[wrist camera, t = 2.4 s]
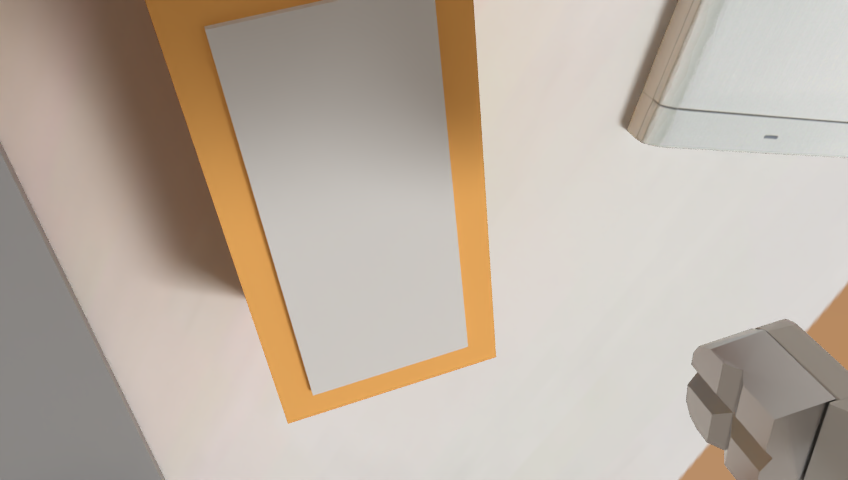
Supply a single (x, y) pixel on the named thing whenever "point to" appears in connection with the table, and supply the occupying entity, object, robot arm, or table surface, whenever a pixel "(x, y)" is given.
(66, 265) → the table surface
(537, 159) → the table surface
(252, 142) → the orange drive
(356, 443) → the table surface
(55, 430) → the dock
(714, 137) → the hard drive
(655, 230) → the table surface
